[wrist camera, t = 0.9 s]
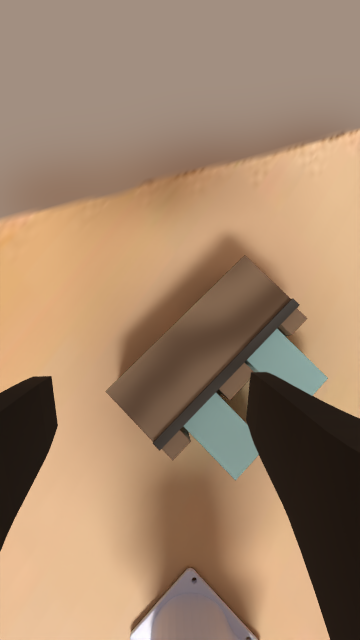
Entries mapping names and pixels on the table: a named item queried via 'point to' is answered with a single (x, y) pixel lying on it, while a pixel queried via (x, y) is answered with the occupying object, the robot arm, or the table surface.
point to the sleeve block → (204, 354)
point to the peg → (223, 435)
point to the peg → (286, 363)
